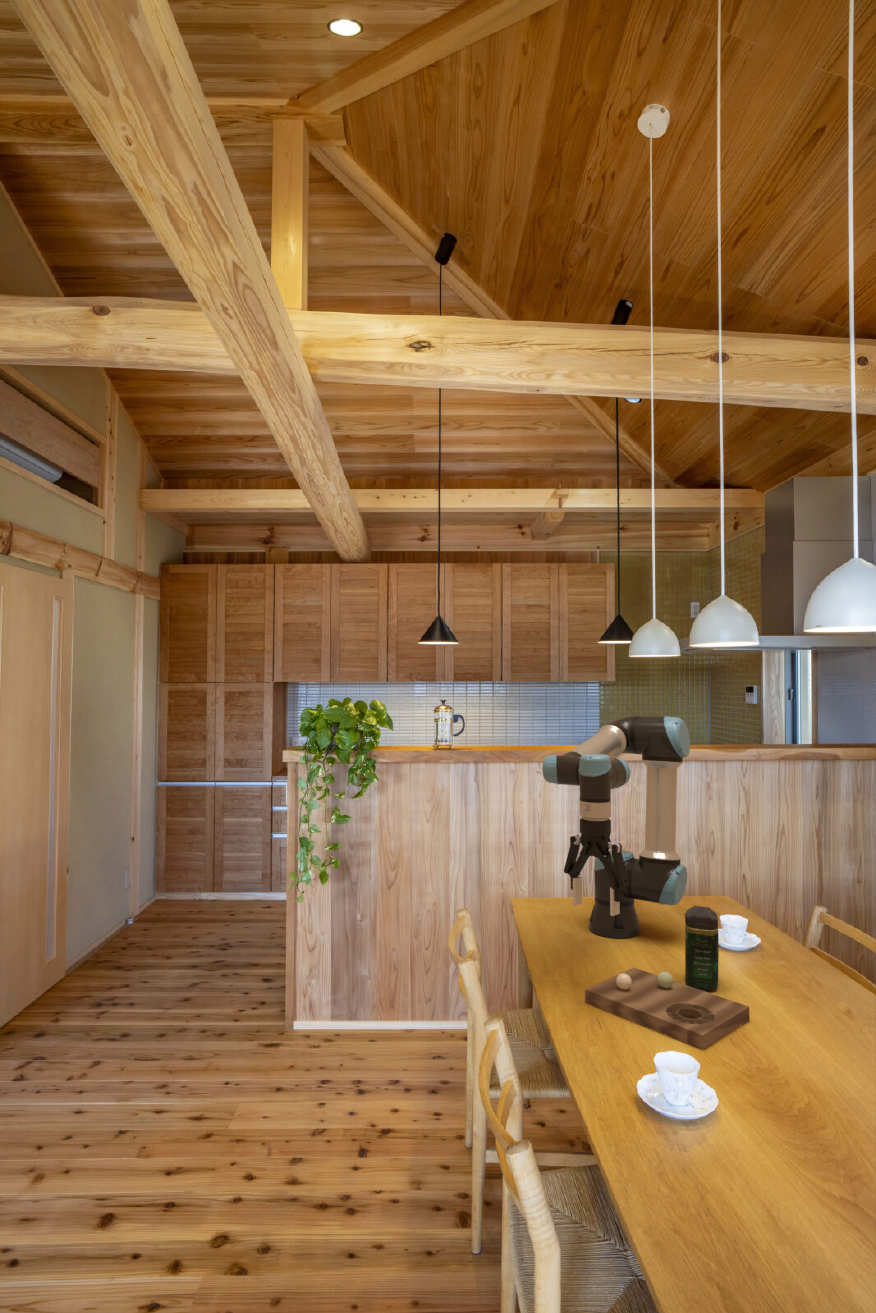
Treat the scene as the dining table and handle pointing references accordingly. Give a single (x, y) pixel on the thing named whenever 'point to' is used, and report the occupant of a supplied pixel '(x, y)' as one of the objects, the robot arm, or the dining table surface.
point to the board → (670, 1008)
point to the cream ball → (623, 981)
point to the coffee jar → (701, 948)
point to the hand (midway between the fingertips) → (595, 909)
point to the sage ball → (665, 980)
